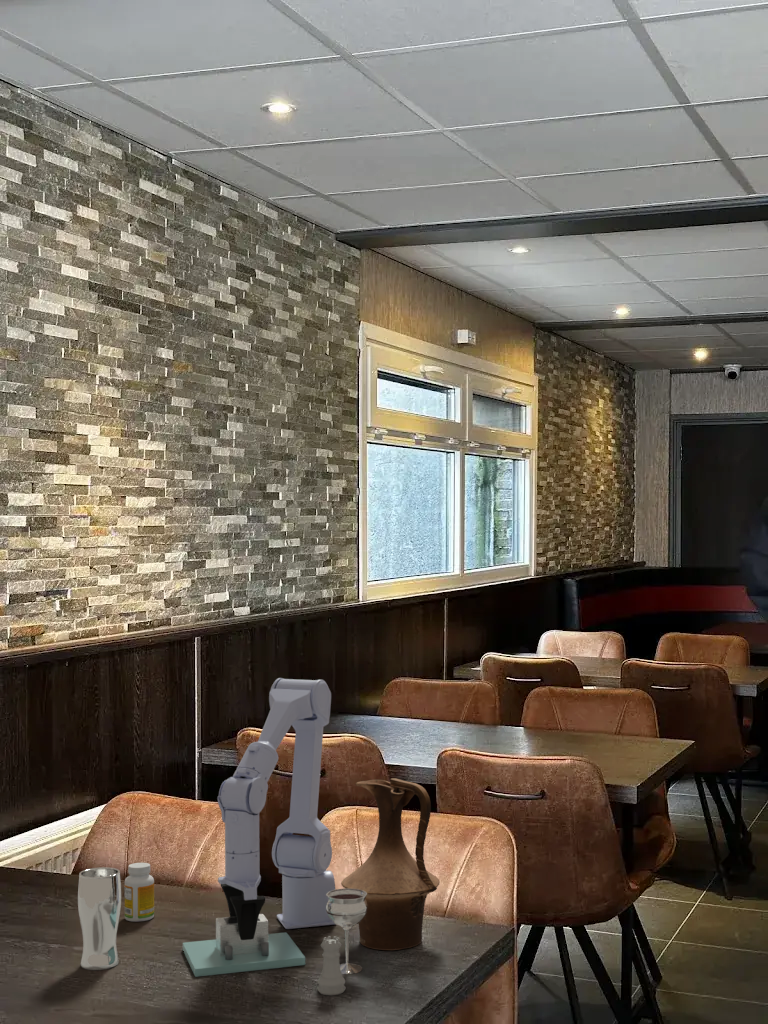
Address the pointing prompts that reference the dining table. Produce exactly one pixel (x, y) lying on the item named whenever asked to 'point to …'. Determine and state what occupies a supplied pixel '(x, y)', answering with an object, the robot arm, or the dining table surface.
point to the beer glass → (99, 916)
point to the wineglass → (347, 916)
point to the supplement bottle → (139, 893)
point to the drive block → (230, 936)
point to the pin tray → (242, 956)
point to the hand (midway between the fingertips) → (242, 932)
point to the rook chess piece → (331, 968)
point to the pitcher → (394, 871)
